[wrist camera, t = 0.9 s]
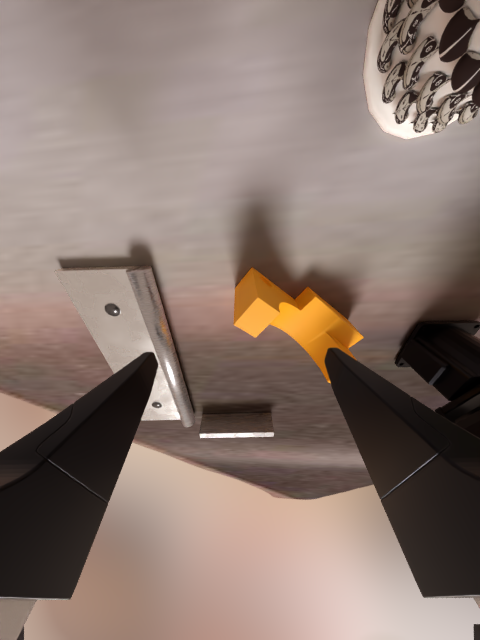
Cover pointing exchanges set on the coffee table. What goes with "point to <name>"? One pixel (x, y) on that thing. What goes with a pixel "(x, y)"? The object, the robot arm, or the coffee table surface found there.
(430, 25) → the decorative candle
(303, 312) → the pipe clamp
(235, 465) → the coffee table surface
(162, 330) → the hinge bed
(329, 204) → the coffee table surface
